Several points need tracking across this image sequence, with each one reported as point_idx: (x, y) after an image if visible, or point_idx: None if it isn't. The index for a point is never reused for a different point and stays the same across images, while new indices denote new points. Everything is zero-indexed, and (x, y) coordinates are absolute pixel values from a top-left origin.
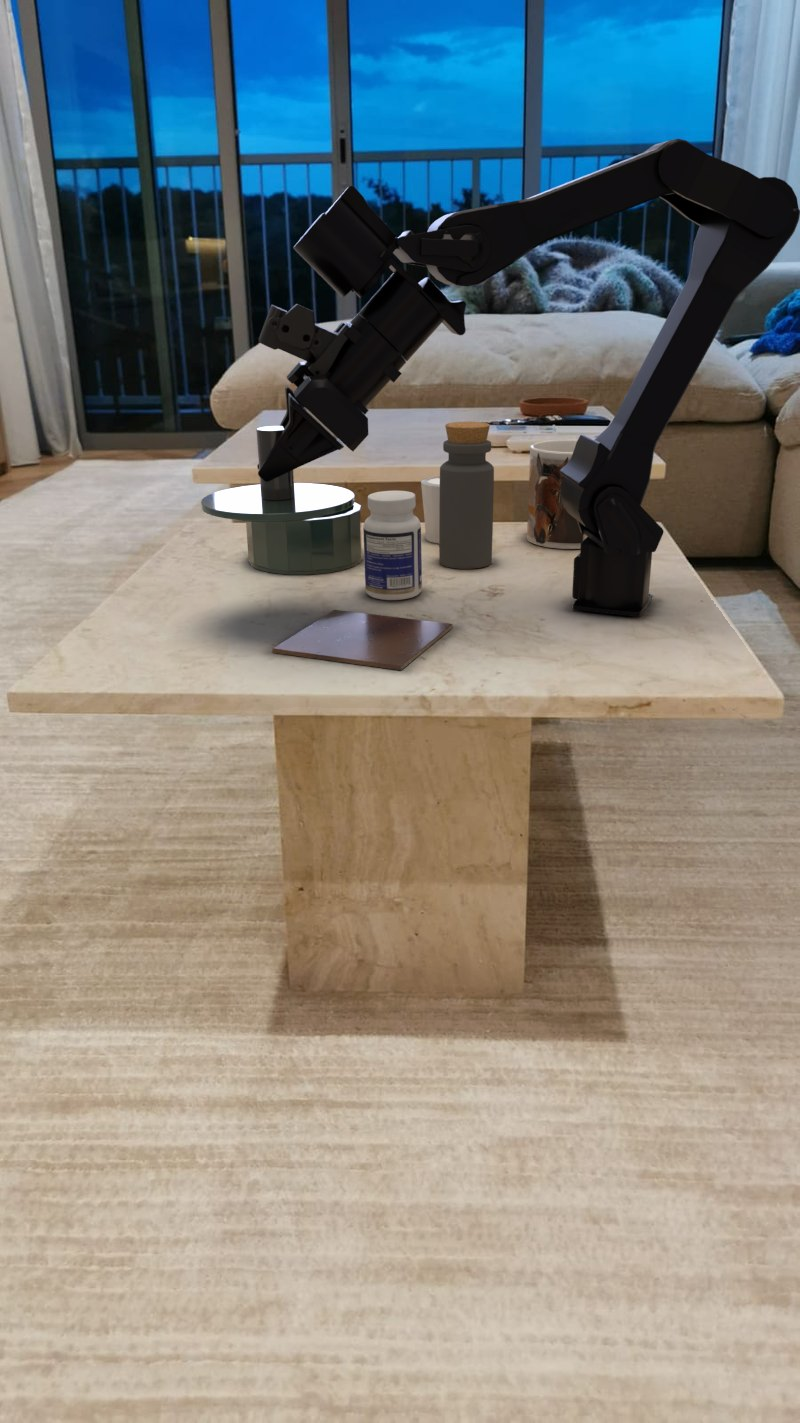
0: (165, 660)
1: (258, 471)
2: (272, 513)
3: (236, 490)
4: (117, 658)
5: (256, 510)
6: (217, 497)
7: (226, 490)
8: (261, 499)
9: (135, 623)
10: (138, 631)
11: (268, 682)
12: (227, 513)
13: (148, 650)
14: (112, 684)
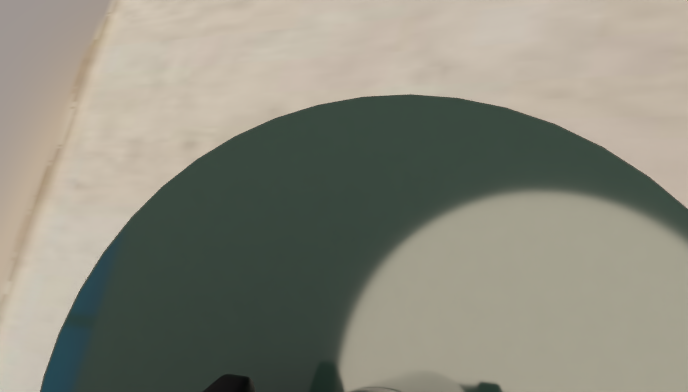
0: (244, 103)
1: (231, 379)
2: (45, 384)
3: (651, 281)
4: (285, 8)
5: (123, 325)
6: (477, 171)
7: (667, 226)
8: (349, 383)
9: (532, 21)
10: (462, 33)
11: (63, 301)
12: (150, 202)
13: (317, 66)
14: (147, 15)
